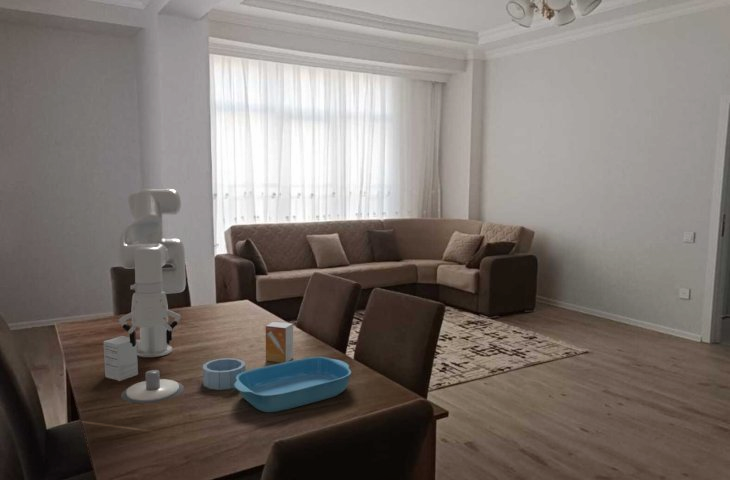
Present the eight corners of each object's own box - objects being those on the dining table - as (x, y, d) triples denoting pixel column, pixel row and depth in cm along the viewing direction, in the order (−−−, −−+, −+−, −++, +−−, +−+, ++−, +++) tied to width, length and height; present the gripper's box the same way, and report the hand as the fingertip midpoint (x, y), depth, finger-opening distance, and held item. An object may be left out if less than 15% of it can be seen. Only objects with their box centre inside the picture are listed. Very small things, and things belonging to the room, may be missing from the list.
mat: (107, 401, 164) (107, 399, 164) (145, 379, 182) (145, 378, 182) (161, 407, 160) (161, 406, 160) (195, 385, 177) (195, 383, 177)
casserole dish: (253, 424, 151) (253, 398, 150) (222, 397, 169) (222, 374, 168) (365, 394, 172) (365, 371, 171) (326, 372, 190) (327, 352, 189)
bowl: (195, 388, 175) (194, 369, 174) (216, 374, 187) (215, 356, 186) (233, 392, 171) (233, 373, 171) (252, 377, 184) (251, 360, 183)
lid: (115, 398, 165) (114, 378, 165) (146, 380, 180) (146, 362, 179) (160, 403, 162) (159, 383, 161) (188, 384, 176) (188, 366, 176)
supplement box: (124, 371, 189) (122, 335, 187) (138, 375, 185) (137, 338, 184) (104, 378, 183) (102, 340, 181) (119, 382, 179) (117, 344, 177)
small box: (265, 361, 201) (265, 325, 199) (273, 355, 207) (273, 321, 205) (286, 363, 198) (285, 327, 197) (293, 358, 204) (293, 323, 203)
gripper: (115, 291, 161) (118, 350, 163) (179, 288, 166) (181, 345, 167) (119, 287, 168) (122, 343, 170) (180, 284, 173) (182, 338, 175)
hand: (151, 344), depth 169 cm, fingers open, 9 cm apart
